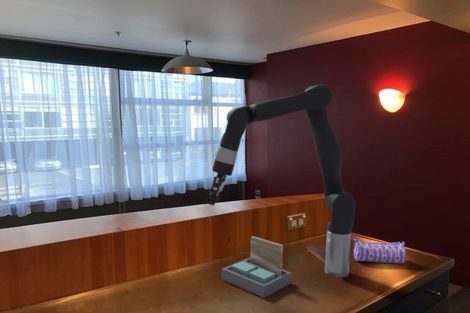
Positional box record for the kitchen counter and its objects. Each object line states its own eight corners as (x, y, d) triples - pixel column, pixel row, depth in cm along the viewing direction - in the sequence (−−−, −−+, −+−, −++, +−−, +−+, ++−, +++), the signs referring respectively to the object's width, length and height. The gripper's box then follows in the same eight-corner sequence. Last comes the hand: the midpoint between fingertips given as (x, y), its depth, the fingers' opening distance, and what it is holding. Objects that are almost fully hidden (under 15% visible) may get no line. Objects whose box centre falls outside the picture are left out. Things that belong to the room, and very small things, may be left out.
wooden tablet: (302, 244, 180) (321, 240, 183) (302, 248, 181) (321, 244, 183) (329, 266, 155) (351, 261, 157) (329, 271, 155) (351, 266, 158)
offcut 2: (259, 281, 138) (259, 267, 138) (274, 287, 134) (275, 273, 133) (248, 286, 134) (249, 272, 133) (264, 292, 129) (264, 278, 129)
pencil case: (399, 258, 168) (401, 238, 167) (409, 266, 159) (410, 245, 158) (350, 257, 168) (351, 236, 167) (356, 265, 159) (358, 243, 158)
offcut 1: (242, 273, 144) (242, 261, 144) (256, 279, 139) (256, 266, 139) (231, 278, 140) (231, 265, 139) (245, 284, 135) (245, 271, 134)
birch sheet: (252, 270, 147) (253, 236, 146) (281, 282, 138) (282, 245, 136) (249, 271, 146) (250, 236, 145) (278, 283, 137) (280, 246, 135)
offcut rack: (249, 269, 151) (250, 257, 150) (291, 286, 137) (291, 272, 137) (221, 282, 139) (221, 268, 139) (263, 301, 126) (264, 286, 125)
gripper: (232, 164, 131) (220, 209, 132) (236, 162, 145) (225, 202, 146) (212, 158, 131) (199, 203, 132) (218, 157, 145) (207, 197, 146)
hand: (213, 202), depth 139 cm, fingers open, 8 cm apart
